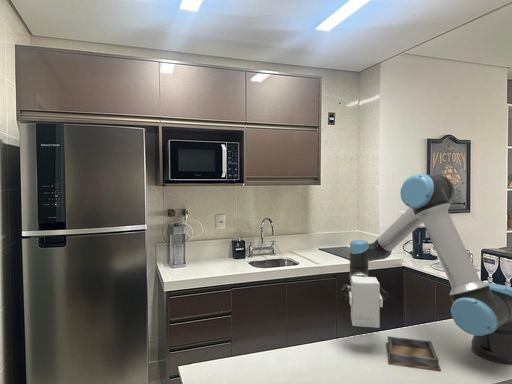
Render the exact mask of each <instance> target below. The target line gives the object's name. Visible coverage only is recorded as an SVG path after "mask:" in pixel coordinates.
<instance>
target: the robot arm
mask: <svg viewBox="0 0 512 384" xmlns="http://www.w3.org/2000/svg"><path fill="white" fill-rule="evenodd" d="M399 192H400V198H401V201H402V202H403V204H404V205H405V206H407V207H408V209H406V211H405V212H403V213H402V215H400V216H399V217H398V218H397V219H396V220H395V221H394V222H393V223H392V224H391V225H390V226H389V227H388V228H387V229H386V230H385V231H384V232H382V234H381V235H379V237H378V238H376V240H375V241H373V242H371V243H369V242H368V241H367V240H364V239H354V240H351V241H350V242H349V273H348V277H349V281H350V282H351V276H359V277H369V262H373V261H379V260H385V259H388V258H389V257H390V256H391V255H392V252H393V250H394V249H396V247H397V246H398V245H400V244H401V243H402V242H403V241H404V240H405V239H406V238H407V237H409V235H411V234H412V233H413V232H414V231H415V230H417V228H418V227H419V226H420V225H422V224H423V225H424V227H425V230H426V232H427V234H428V236H429V239H430V241H431V244H432V245H433V248H434V251H435V252H436V254H437V257H438V259H439V261H440V264H441V266H442V268H443V271H444V272H445V275H446V277H447V280H448V281H449V284H450V287H451V290H450V292H449V297H450V299H451V301H452V304H451V308H450V314H451V317H452V320H453V321H454V324H455V325H456V326H457V327H458V328H459V329H460V330H462V331H463V332H466V333H467V334H468V335H472V339H471V347H470V348H471V351H472V352H473V353H475V354H476V355H477V356H480V357H481V358H484V359H487V360H489V361H492V362H496V363H501V364H508V365H509V364H510V365H512V287H511V286H508V285H503V284H498V283H491V282H484V281H482V280H481V279H480V277H479V275H478V272H477V270H476V268H475V266H474V264H473V262H472V260H471V257H470V256H469V253H468V251H467V249H466V247H465V244H464V243H463V240H462V239H461V236H460V234H459V232H458V229H457V228H456V225H455V223H454V222H453V219H452V216H451V215H450V213H449V208H450V206H451V204H450V203H451V201H452V200H453V198H454V196H455V185H454V183H453V182H452V181H451V180H450V179H449V178H448V177H447V176H444V175H442V174H425V173H420V174H414V175H411V176H409V177H407V178H406V179H405V180H404V181H403V183H402V185H401V187H400V191H399ZM339 292H340V299H341V298H342V299H343V298H345V301H349V305H350V306H351V305H352V293H351V285H348V284H347V283H343V286H342V288H341V289H340V291H339ZM385 301H389V292H388V291H386V290H385V289H383V287H382V285H380V308H383V307H384V306H383V305H384V304H383V303H385Z"/></svg>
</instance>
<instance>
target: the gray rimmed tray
mask: <svg viewBox="0 0 512 384" xmlns="http://www.w3.org/2000/svg"><path fill="white" fill-rule="evenodd" d="M385 347H386V355H387V364H388V365H392V366H397V367H398V366H400V367H407V368H415V369H420V370H429V371H435V372H441V370H442V369H441V366H440V364H439V363H440V361H439V358H438V355H437V352H436V350H435V348H434V346H433V343H432V341H431V340H423V339H416V338H415V339H414V338H406V337H397V336H396V337H395V336H390V335H389V336H387V342H385Z"/></svg>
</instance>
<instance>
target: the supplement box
mask: <svg viewBox="0 0 512 384" xmlns="http://www.w3.org/2000/svg"><path fill="white" fill-rule="evenodd" d="M350 286H351V293H352V305H350V320H351V324H352V326H353V327H361V328H362V327H363V328H376V329H377V328H378V329H380V326H381V324H380V321H381V320H380V315H381V314H380V311H381V310H380V309H381V307H380V286H381V283H380V282H379V281H378V279H377V277H376V276H368V277H359V276H351V281H350Z"/></svg>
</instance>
